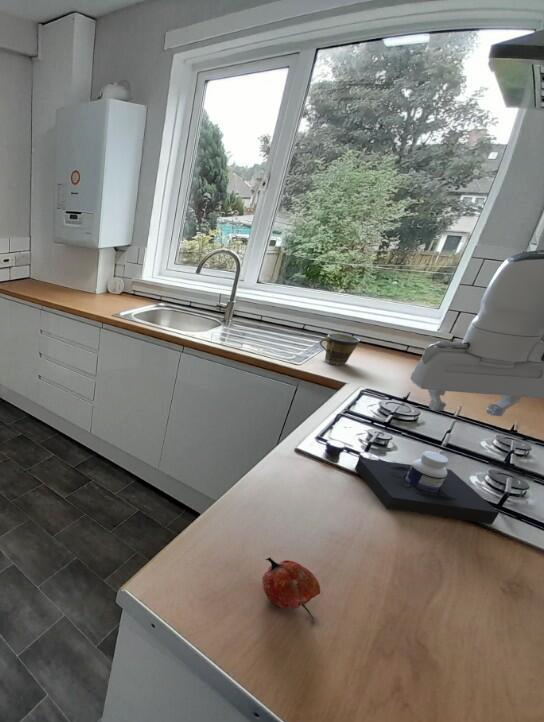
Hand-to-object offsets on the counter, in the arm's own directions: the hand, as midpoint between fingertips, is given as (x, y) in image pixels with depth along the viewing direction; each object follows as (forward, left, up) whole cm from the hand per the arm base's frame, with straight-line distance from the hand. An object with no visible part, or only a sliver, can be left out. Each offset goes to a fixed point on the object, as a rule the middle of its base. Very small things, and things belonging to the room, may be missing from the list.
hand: (463, 412), depth 79 cm
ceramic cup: (-13, -82, -21) cm, 86 cm away
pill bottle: (+1, 0, -21) cm, 21 cm away
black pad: (+1, 0, -20) cm, 20 cm away
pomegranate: (+37, +35, -21) cm, 55 cm away
